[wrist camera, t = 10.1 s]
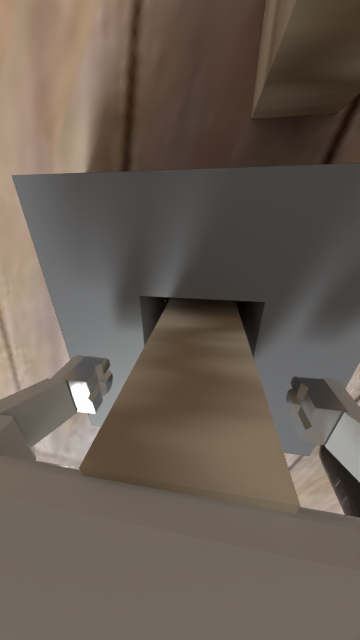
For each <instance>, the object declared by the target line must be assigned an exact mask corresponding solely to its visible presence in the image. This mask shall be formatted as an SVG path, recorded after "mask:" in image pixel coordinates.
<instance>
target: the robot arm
mask: <svg viewBox="0 0 360 640" xmlns="http://www.w3.org/2000/svg"><path fill="white" fill-rule="evenodd" d="M109 367H110V361H109V359H107V358H100V357H91V356H81V355H77V356H74V357H73V358H72V359H71V360H70V361H69V362H68V363H67V364H66V365H65V366H64V367H63V368H62V369H61V370H60V371H58V372H57V373H56V374H55V375H54V376H53V377H52V378H51V379H49V378H47V379H45V380H43V381H41V382H39V383H36V384H34V385H32V386H30V387H28V388H25V389H23V390H21V391H19V392H16V393H14V394H12V395H10V396H8V397H5V398H3V399H1V400H0V640H360V518H359V517H353V516H347V515H342V514H336V513H330V512H325V511H319V510H313V509H308V508H302V507H299V509H298V511H297V512H296V514H295V513H289V512H284V511H278V510H272V509H267V508H261V507H256V506H250V505H244V504H239V503H233V502H228V501H222V500H217V499H211V498H205V497H200V496H194V495H189V494H183V493H177V492H172V491H166V490H161V489H155V488H150V487H144V486H138V485H133V484H127V483H122V482H116V481H110V480H105V479H99V478H94V477H88V476H83V475H82V473H81V471H80V468H74V467H69V466H63V465H57V464H52V463H46V462H40V461H35V460H36V455H35V454H34V452H33V450H32V449H31V447H32V446H34V445H35V444H36V443H37V442H39V441H40V440H41V439H43V438H44V437H45V436H47V435H48V434H49V433H51V432H52V431H53V430H55V429H56V428H57V427H59V426H60V425H61V424H63V423H64V422H65V421H67V420H68V419H69V418H71V417H72V416H73V415H75V414H76V413H77V412H85V413H96V412H97V410H98V408H99V407H100V405H101V403H102V402H103V398H102V396H104V395H105V394H107V393H108V392H109V390H110V388H111V386H112V382H113V375H112V372H111V371H110V370H109V369H108V368H109ZM291 385H292V389H290V390H289V391H288V392H287V395H286V406H287V410H288V413H289V415H290V416H291V417H293V418H294V419H295V422H294V427H295V430H296V432H297V434H298V437H299V439H300V441H302V442H309V443H315V444H321V445H325V447H326V448H327V449H328V450H329V451H330V452H331V453H332V454H333V455H334V456H335V457H336V458H337V459H338V460H339V461H340V463H341V464H342V465H343V466H344V467H345V468H346V469H347V470H348V471H349V472H350V473H351V474H352V475H353V476H354V477H355V478H356V479H357V480H358V481H359V482H360V407H359V406H358V404H357V403H356V402H355V401H354V400H353V398H352V397H351V396H350V395H349V393H348V392H347V391H346V390H345V389H344V387H343V386H342V385H341V384H340V382H339V381H337V380H335V379H324V378H321V379H320V378H309V377H298V376H294V377H293V378H292V380H291Z"/></svg>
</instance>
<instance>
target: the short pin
mask: <svg viewBox="0 0 360 640" xmlns="http://www.w3.org/2000/svg"><path fill="white" fill-rule="evenodd" d="M359 93H360V0H266V2H265V10H264V18H263V26H262V35H261V43H260V51H259V59H258V67H257V75H256V84H255V92H254V100H253V108H252V116H251V119H259V118H274V117H290V116H305V115H320V114H336V113H338V112H339V111H340V110H341V109H342V108H343V107H345V106H346V105H347V104H348V103H349V102H350V101H351V100H352V99H354V98H355V97H356V96H357V95H358V94H359Z"/></svg>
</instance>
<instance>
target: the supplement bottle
mask: <svg viewBox="0 0 360 640" xmlns="http://www.w3.org/2000/svg"><path fill="white" fill-rule="evenodd" d="M319 455H320V459H321V462H322V464H323V467H324V469H325V471H326V474H327V476H328V478H329V480H330V483H331V485H332V487H333V489H334V492H335V494H336V496H337V498H338V500H339V503H340V505H341V507H342V509H343V512H344V514H345V515H347V516H353V517H359V518H360V482H359V481H358V480H357V479H356V478H355V477H354V476H353V475H352V474H351V473H350V472H349V471H348V470H347V469H346V468H345V467H344V466H343V465H342V464H341V463H340V461H339V460H338V459H337V458H336V457H335V456H334V455H333V454H332V453H331V452H330V451H329V450H328V449H327V448H326V447H325V445H321V448H320V451H319Z"/></svg>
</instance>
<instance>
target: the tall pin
mask: <svg viewBox="0 0 360 640" xmlns="http://www.w3.org/2000/svg"><path fill="white" fill-rule="evenodd" d="M79 468H80V471H81V473H82V475H83V476H88V477H94V478H99V479H105V480H110V481H116V482H122V483H127V484H133V485H138V486H144V487H150V488H155V489H161V490H166V491H172V492H177V493H183V494H189V495H194V496H200V497H205V498H211V499H217V500H222V501H228V502H233V503H239V504H244V505H250V506H256V507H261V508H267V509H272V510H278V511H284V512H289V513H295V514H296V512H297V511H298V509H299V507H300V503H299V500H298V497H297V494H296V491H295V487H294V484H293V481H292V478H291V475H290V472H289V469H288V465H287V462H286V459H285V456H284V453H283V450H282V447H281V443H280V440H279V437H278V434H277V431H276V428H275V425H274V421H273V418H272V415H271V412H270V409H269V406H268V403H267V399H266V396H265V393H264V390H263V387H262V384H261V381H260V377H259V374H258V371H257V368H256V365H255V362H254V359H253V355H252V352H251V349H250V346H249V343H248V340H247V337H246V333H245V330H244V327H243V324H242V321H241V318H240V315H239V311H238V308H237V305H236V302H235V301H233V300H213V299H193V298H173V297H171V298H170V300H169V302H168V304H167V306H166V307H165V309H164V311H163V313H162V315H161V317H160V319H159V320H158V322H157V324H156V326H155V328H154V330H153V332H152V333H151V335H150V337H149V339H148V341H147V343H146V345H145V346H144V348H143V350H142V352H141V354H140V356H139V358H138V359H137V361H136V363H135V365H134V367H133V369H132V371H131V372H130V374H129V376H128V378H127V380H126V382H125V384H124V385H123V387H122V389H121V391H120V393H119V395H118V397H117V398H116V400H115V402H114V404H113V406H112V408H111V410H110V412H109V413H108V415H107V417H106V419H105V421H104V423H103V425H102V426H101V428H100V430H99V432H98V434H97V436H96V438H95V439H94V441H93V443H92V445H91V447H90V449H89V451H88V452H87V454H86V456H85V458H84V460H83V462H82V464H81V465H80V467H79Z"/></svg>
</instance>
